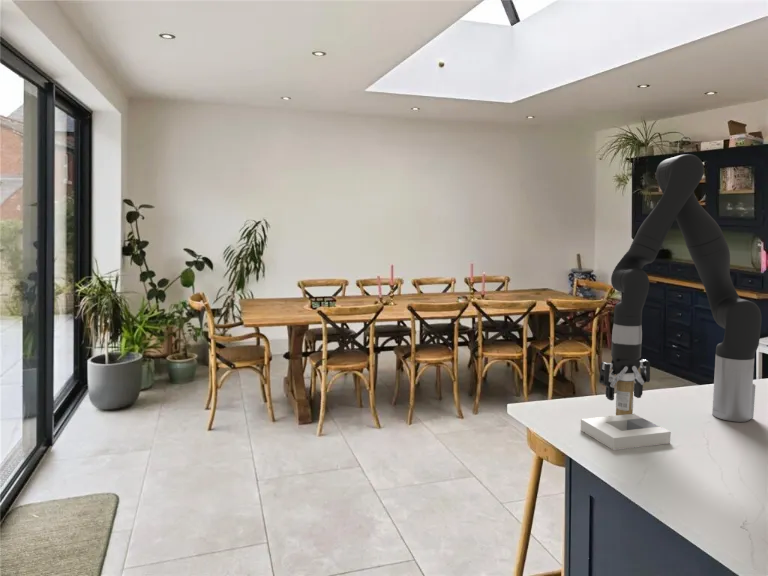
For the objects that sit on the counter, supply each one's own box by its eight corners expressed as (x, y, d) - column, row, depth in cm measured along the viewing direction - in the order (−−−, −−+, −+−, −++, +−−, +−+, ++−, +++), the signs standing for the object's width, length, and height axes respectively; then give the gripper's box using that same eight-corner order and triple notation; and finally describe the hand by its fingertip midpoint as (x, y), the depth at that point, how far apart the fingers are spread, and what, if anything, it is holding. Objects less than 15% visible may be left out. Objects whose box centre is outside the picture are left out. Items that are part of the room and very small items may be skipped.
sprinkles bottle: (636, 420, 163) (638, 372, 162) (626, 423, 161) (628, 375, 159) (621, 415, 167) (623, 369, 165) (611, 419, 165) (613, 371, 163)
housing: (633, 424, 160) (633, 413, 160) (670, 443, 147) (670, 431, 146) (580, 430, 156) (580, 419, 156) (613, 450, 143) (614, 438, 142)
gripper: (640, 336, 167) (637, 392, 169) (595, 339, 163) (592, 396, 165) (658, 342, 159) (655, 400, 161) (612, 344, 156) (609, 404, 158)
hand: (623, 398), depth 163 cm, fingers open, 8 cm apart
